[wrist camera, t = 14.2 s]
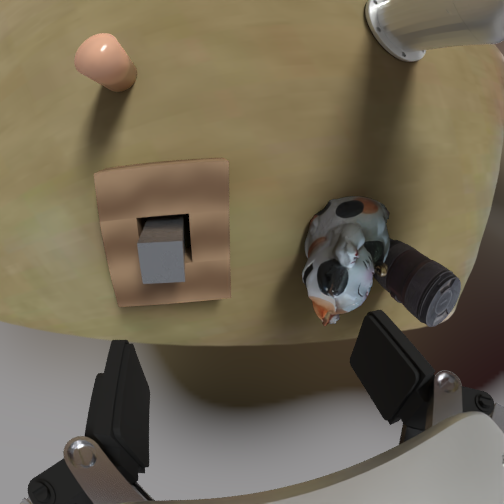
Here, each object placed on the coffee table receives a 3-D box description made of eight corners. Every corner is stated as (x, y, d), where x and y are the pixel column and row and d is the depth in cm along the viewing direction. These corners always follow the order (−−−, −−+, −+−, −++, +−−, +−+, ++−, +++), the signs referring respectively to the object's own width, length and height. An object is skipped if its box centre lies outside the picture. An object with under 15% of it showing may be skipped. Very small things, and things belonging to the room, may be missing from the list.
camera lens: (401, 265, 44) (458, 309, 31) (367, 285, 43) (421, 338, 30) (399, 226, 40) (465, 266, 27) (361, 246, 40) (427, 296, 26)
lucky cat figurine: (369, 273, 42) (378, 346, 32) (299, 265, 44) (291, 338, 34) (396, 195, 32) (427, 267, 22) (311, 182, 34) (310, 252, 24)
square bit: (150, 211, 31) (137, 243, 22) (183, 210, 32) (182, 240, 23) (153, 243, 32) (142, 283, 23) (184, 241, 33) (185, 281, 24)
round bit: (106, 63, 22) (78, 38, 13) (138, 59, 23) (121, 29, 14) (103, 94, 23) (72, 79, 15) (136, 90, 24) (115, 71, 16)
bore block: (105, 168, 27) (93, 173, 23) (223, 157, 30) (228, 161, 26) (124, 288, 34) (118, 307, 30) (225, 279, 37) (231, 298, 33)
